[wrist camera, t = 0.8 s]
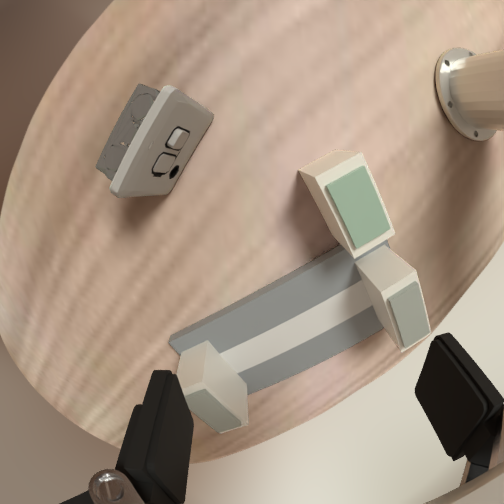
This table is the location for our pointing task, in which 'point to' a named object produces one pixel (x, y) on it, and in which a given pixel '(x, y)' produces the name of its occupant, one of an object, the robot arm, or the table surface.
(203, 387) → the mounted modules
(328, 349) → the rail board
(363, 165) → the block
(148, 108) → the electrical switch
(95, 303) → the table surface
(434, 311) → the table surface
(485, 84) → the robot arm
